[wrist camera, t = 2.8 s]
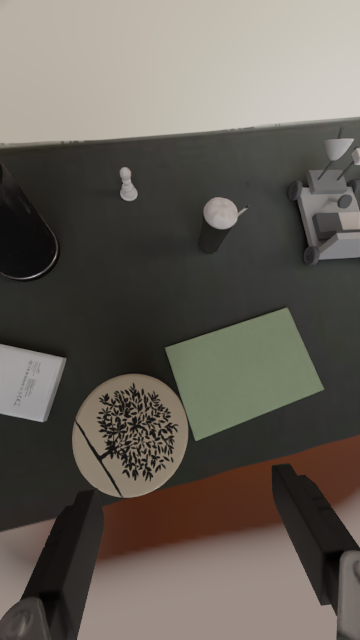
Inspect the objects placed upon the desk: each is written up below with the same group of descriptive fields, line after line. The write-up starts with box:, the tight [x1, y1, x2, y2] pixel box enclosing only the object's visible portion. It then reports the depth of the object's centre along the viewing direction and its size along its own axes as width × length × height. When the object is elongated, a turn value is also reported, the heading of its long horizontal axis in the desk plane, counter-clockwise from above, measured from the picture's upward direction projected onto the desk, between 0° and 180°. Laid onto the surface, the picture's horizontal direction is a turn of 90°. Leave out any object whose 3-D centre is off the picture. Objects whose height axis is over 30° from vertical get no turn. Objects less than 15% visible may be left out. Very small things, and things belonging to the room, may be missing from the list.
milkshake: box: [199, 197, 249, 254], centre depth 35 cm, size 4×5×10 cm
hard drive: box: [0, 344, 66, 422], centre depth 32 cm, size 2×8×12 cm
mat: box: [165, 308, 324, 441], centre depth 35 cm, size 20×13×1 cm, turn 109°
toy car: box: [288, 128, 360, 265], centre depth 39 cm, size 18×10×12 cm
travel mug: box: [72, 372, 188, 498], centre depth 25 cm, size 8×8×18 cm
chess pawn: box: [120, 167, 138, 201], centre depth 38 cm, size 3×3×5 cm
